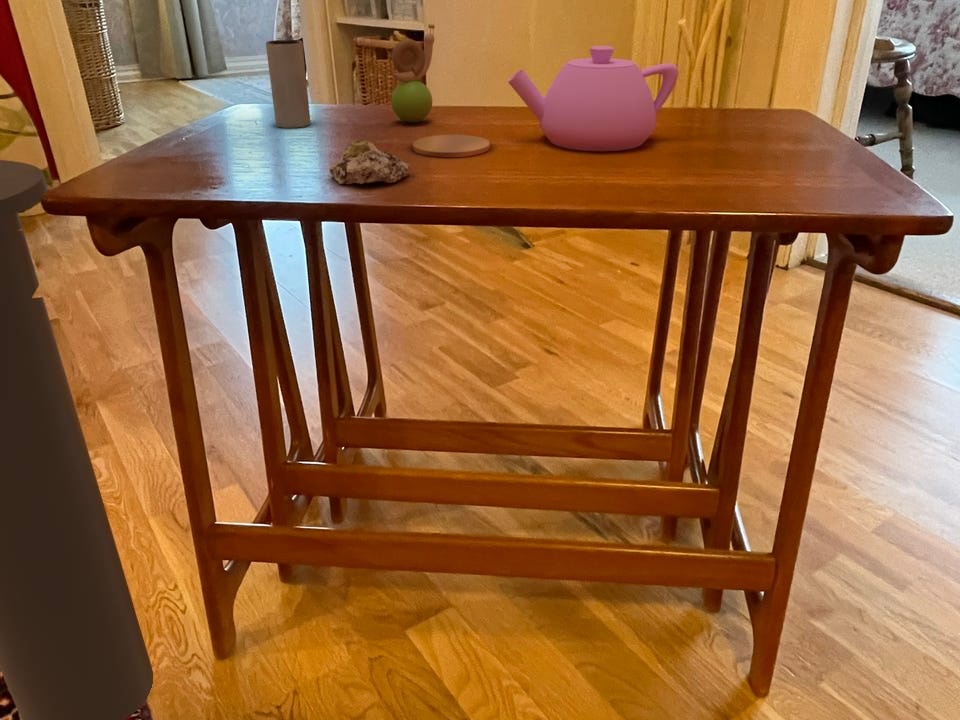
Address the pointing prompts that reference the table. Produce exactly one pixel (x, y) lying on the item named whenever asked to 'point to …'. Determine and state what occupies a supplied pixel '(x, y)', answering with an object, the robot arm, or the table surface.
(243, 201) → the table surface
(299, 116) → the grey cylinder
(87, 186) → the table surface
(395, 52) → the snail figurine
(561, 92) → the teapot
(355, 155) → the mineral rock
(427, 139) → the cork coaster
